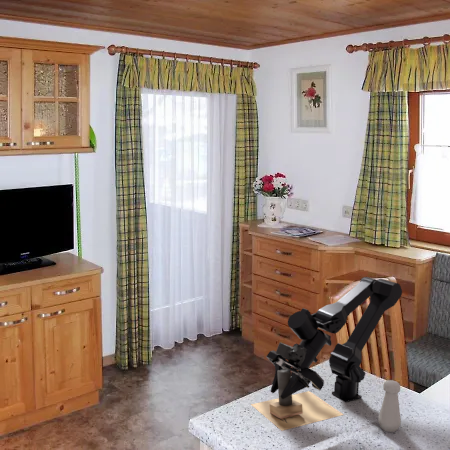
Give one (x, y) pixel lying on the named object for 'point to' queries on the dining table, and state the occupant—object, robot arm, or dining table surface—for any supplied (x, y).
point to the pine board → (312, 413)
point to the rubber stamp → (285, 405)
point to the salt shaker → (390, 407)
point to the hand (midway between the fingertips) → (276, 395)
